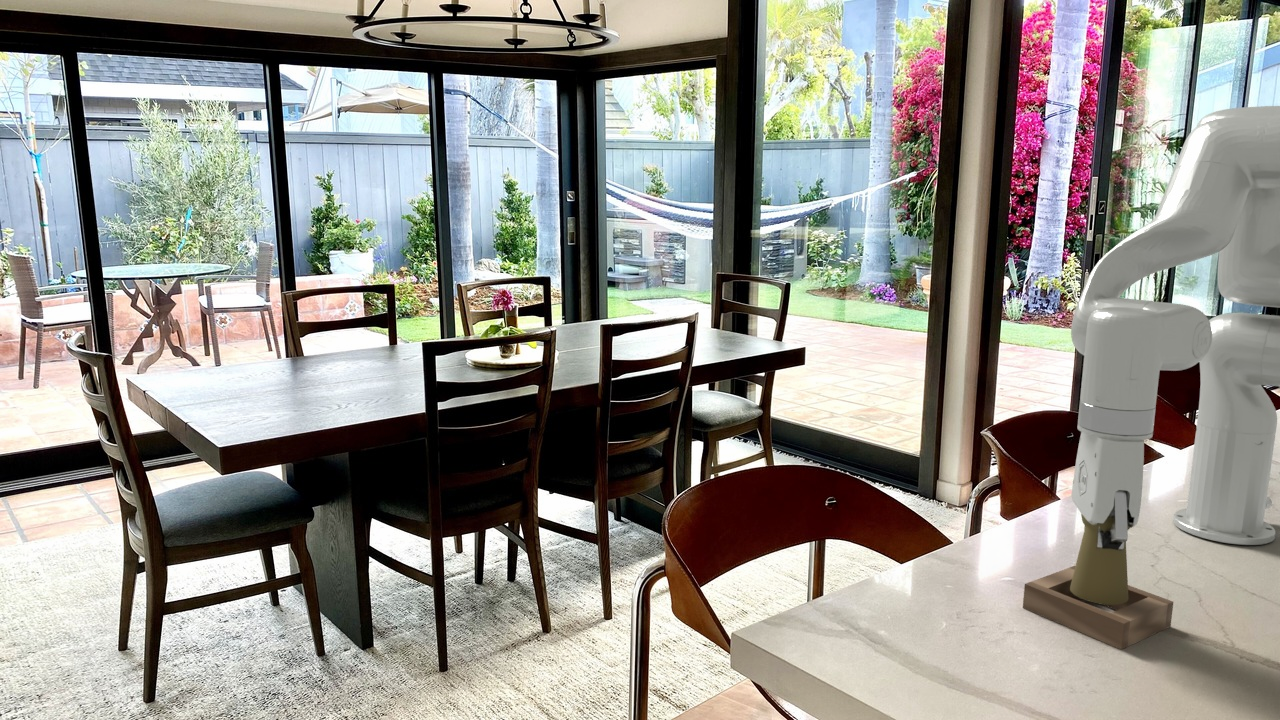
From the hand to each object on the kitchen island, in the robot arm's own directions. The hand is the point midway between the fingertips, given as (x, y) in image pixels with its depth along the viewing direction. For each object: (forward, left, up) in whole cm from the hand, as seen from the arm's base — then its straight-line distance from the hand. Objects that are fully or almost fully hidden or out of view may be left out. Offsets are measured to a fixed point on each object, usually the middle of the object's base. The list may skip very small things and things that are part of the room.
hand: (1099, 573), depth 107 cm
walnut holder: (0, 0, -5) cm, 5 cm away
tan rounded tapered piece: (+1, 0, -2) cm, 2 cm away
